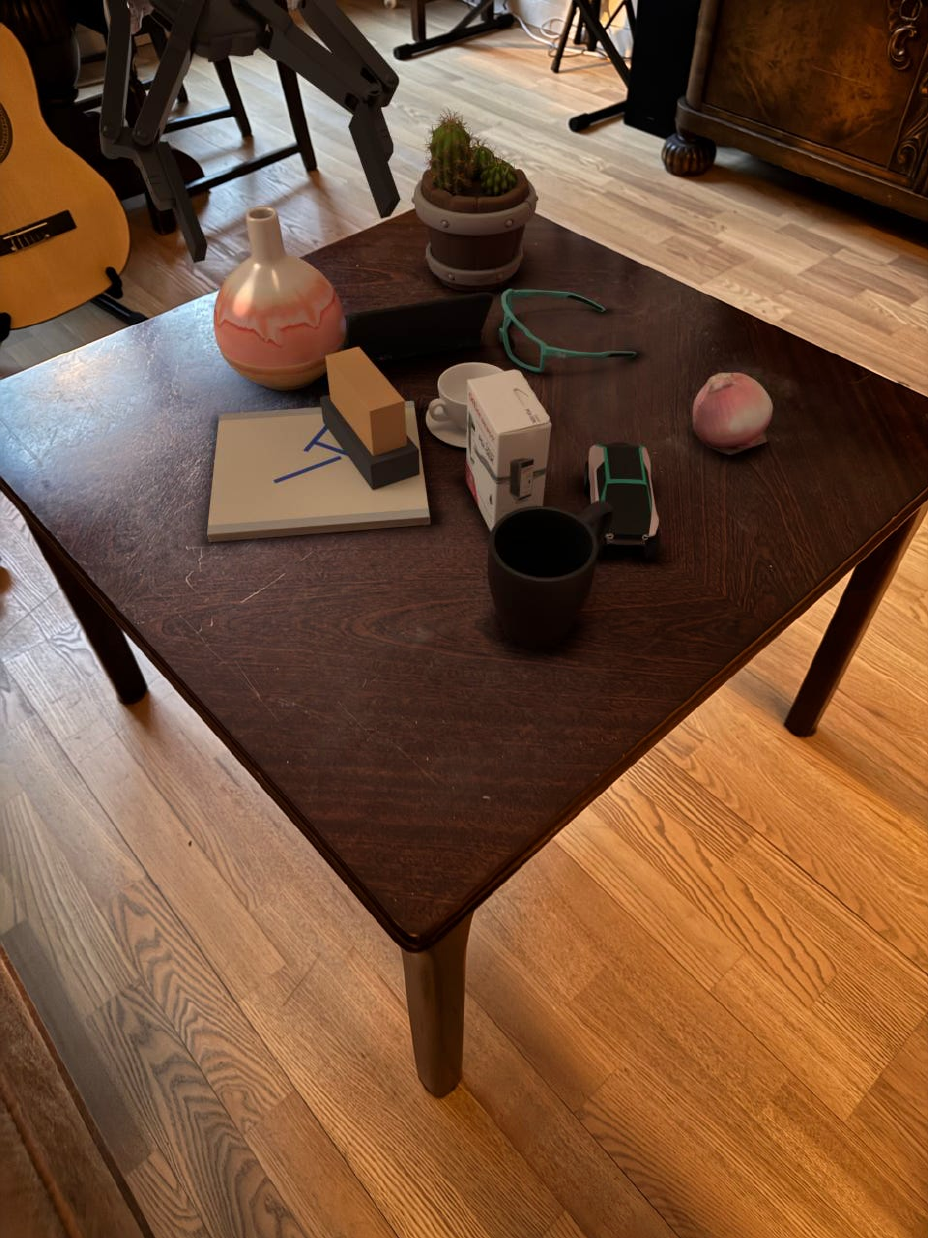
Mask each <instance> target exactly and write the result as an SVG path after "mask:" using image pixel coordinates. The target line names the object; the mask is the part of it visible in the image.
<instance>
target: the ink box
mask: <svg viewBox="0 0 928 1238" xmlns="http://www.w3.org/2000/svg"><path fill="white" fill-rule="evenodd" d="M503 371H504V372H499V373H493V374H489V375H484V376H479V377H475V378H471V379H468V380H467V448H466V456H465V458H466V460H465V482H466V484H467V487H468V489H469V490H470V492H471V494H472V496H473V498H474V500H475V502H476V505H477V507H478V509H479V511H480V513H481V515H482V517H483V519H484V521H485V523H486V526H487V527H488V529H489V531H490V532H491V530H492V528H493V527H494V525H495V524H496V523H497V521H498V520H500V519H501V518H502V517H503V516H505V515H506V514H508V513H510V512H512V511H514V510H517V509H521V508H524V507H531V506H544V496H545V486H546V478H547V467H548V458H549V449H550V439H551V431H552V430H551V429H552V423H551V417H550V416H549V413H547V411H546V409H545V407H544V406H543V405H542V403H541V402H540V401H539V399H538V397H537V395H536V394H535V392H534V391H533V390H532V388H531V387H530V385H529V383H528V381H527V379H526V378H525V377H524V376H523V373H522V372H521V371H520V370H518V369H515V368H514V369H510V370H509V369H508V370H503Z"/></svg>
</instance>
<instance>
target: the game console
mask: <svg viewBox="0 0 928 1238" xmlns="http://www.w3.org/2000/svg"><path fill="white" fill-rule="evenodd" d="M493 302H494V295H493V294H492V293H491V292H488V291H483V292H476V293H472V294H471V293H470V294H465V295H458V296H453V297H447V298H440V299H434V300H428V301H427V300H426V301H421V302H415V303H410V304H409V303H408V304H403V305H396V306H390V307H384V308H379V309H371V310H366V311H359V312H357V313H350V314H345V319H346V340H345V344H344V347H343V350H342V351H344V350H348V349H352V348H355V347H360V349H361V350H362V351H363V352H364V353H365V354H366V356H367V357H368V358H369V359H370V360H371V361H372V363H373V364H377V363H382V362H389V361H394V360H400V359H404V358H408V357H410V356H414V355H422V354H423V355H428V354H435V353H442V352H447V351H453V350H460V349H465V348H473V347H477V346H480V345H481V344H482V340H483V339H482V337H483V336H482V335H483V334H482V331H483V330H484V327H485V324H486V321H487V319H488V316H489V313H490V311H491V307H492V305H493Z"/></svg>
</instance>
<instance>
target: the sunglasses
mask: <svg viewBox="0 0 928 1238" xmlns="http://www.w3.org/2000/svg"><path fill="white" fill-rule="evenodd" d="M536 296H547V297H552V298H555V299H568V300H572V301H574V302H575V301H576V302H579V303H581V304H584V305H586V306H588V307H590V308H592V309H594V310H596V311H598V312H600V313H603V312H605V311H607V309H606V308H605V307H603V306H602V305H600V304H598V303H596V302H594V301H592V300H590V299H589V298H586V297H584V296H582V295H579V294H576V293H573V292H570V291H558V290H557V291H556V290H545V289H544V290H543V289H541V290H540V289H513V288H508V289H507V290H505V291H504V292H503V293H502V295H501V297H500V300H501V306H502V309H503V311H504V316H503V322H502V327H499V328H498V338H499V342H501V343H502V344H503V347H504V350H505V353H506V356H507V357H508V358H509V359H510V360H511V362H513V363H514V364H516V365H518V366H519V367H521V368H522V369H525V370H528V371H531V372H535V373H542V372H545V368H546V364H547V363H546V362H547V357H551V358H552V357H553V358H557V359H561V360H563V359H569V358H579V359H580V358H581V359H592V360H601V359H608V358H634V356H636V355H637V352H636V351H622V350H621V351H618V350H617V351H616V350H615V351H614V350H613V351H612V350H611V351H602V352H585V351H575V350H569V349H563V348H558V347H553V346H549V345H548V344H547V343H546V342H544V341H543V340H541V339H539V338H538V337H536V336H535V335H533V334H532V333H531V332H530V330H529V329H528V328H527V327H526V326H524V325H523V323H521V321H519V320H518V319H517V318H516V317H515V315H514V300H516V299H524V300H526V299H528V298H532V297H536ZM511 322H513V323H514V324H515V325H516V326H517V327H518V328H519V329H520V330H521V331H523V333H524V335H525V336H526V337H528V338H529V339H530V340H532V341H533V342H535V343H537V344H538V345H539V346H540V361H539V367H535V366H532V365H529V364H526V363H524V362H522V361H520V360H519V359H518V358H516V357H515V356H514V355H513V353H512V352H513V351H515V349H516V348H517V346H516V343H515V340H514V338H513V336H512V335H511V333H510V331H509V328H508V327H509V326H510V324H511Z"/></svg>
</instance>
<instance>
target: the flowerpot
mask: <svg viewBox="0 0 928 1238" xmlns="http://www.w3.org/2000/svg"><path fill="white" fill-rule="evenodd" d="M446 109H447V111H448V114H447V113H446V111H445V110H443V109H442V112H443V113H444V114H445V116H443V115H442V114H441V113H439V115H440V116H437V119H436V120H435V121H436V122H437V121H438V122H437V124H435V126H437V127H433V126H434V124H432V125H431V128H428V129H427V132H428V133H427V135H426V136H428V135H431V136H430V137H429V139H428V140H429V141H427V138H424V139H425V144H421V145H422V146H424V147H425V148H427V149H426V150H424V153H425V155H427V154H431V155H430V156H429V157H428V156H425V158H426V159H425V160H426V162H425V164H424V165H425V166H424V167H426V166H427V165H428V166H427V167H426V170H425V171H423V174H422V177H421V179H420V180H419V181H418V182H417V184H416V185H415V187H414V190H413V196H412V198H411V200H410V201H411V203H412V204H413V206H414V210H415V213H416V215H417V216H418V218H419V219H420V221H422V222H423V223H424V224H425V227H426V231H427V234H428V239H429V243H428V244H427V245H426V248H425V256H424V259H425V260H426V261H427V263H428V264H427V265H428V266H429V268H430V270H431V271H432V272H433V274H434V275H435V276H437V277H438V279H439V280H440V281H441V283H442V284H443V285H445V286H446V287H448V288H451V289H453V290H457V291H462V292H475V291H476V293H483V292H489V291H494V290H495V289H496V287H500V288H501V287H503V286H504V285H505V284H507V282H508V280H511V279H512V277H513V275H515V274H516V272H517V271H518V270H519V267H520V265H521V261H522V260H523V258H524V251H523V248H522V245H521V244H522V241H523V238H524V237H523V236H524V233H525V229H526V224H527V223H528V222H530V220H531V219H532V218H533V217H534V216H535V213H536V209H537V205H538V203H537V202H538V201H539V196H538V195H537V192H536V189H535V186H534V185H533V184H532V182H531V181H530V180H529V179H528V178H527V176H526V174H525V172H524V171H523V170H522V169H521V168H516V163H514V164H513V165H514V166H513V165H512V164H511V163H512V162H513V161H517V158H516V159H512V160H511V161H510V159H511V158H509V159H508V161H506V160H505V159H504V158H506V157H507V156H509V154H507V155H504V156H503V157H501V155H499V156H496V155H495V153H494V151H495V150H496V149H497V147H495V148H494V150H492V149H493V147H492V146H490V147H487V146H484V145H486V144H488V145H490V143H489V142H487V140H488V139H489V138H485V139H484V140H482V139H480V138H481V135H479V137H473V136H474V135H475V134H476V132H475V133H474V132H469V131H471V130H472V128H471V127H469V126H467V127H466V126H465V125H468V122H467V121H464V120H463V119H464V117H463V115H461V116H459V115H458V116H457V114H458V113H459V112H460V110H458V111H457V112H455V111H453V116H452V114H451V111H450V109H449V108H448V107H446ZM463 121H464V122H463ZM467 128H469V131H467V130H468V129H467ZM481 141H483V142H481ZM490 148H491V149H490Z"/></svg>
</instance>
